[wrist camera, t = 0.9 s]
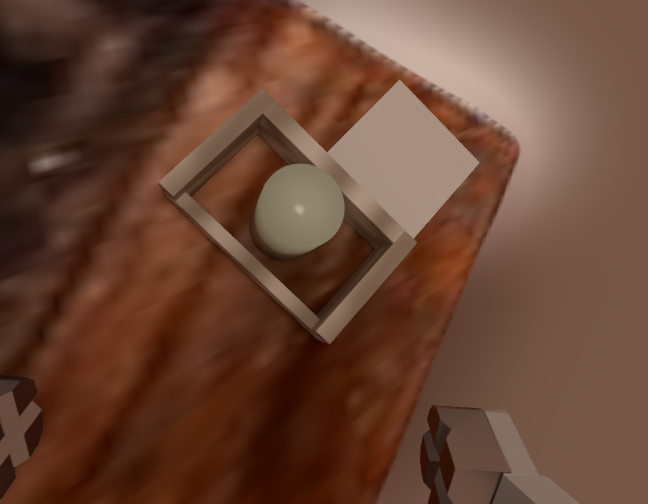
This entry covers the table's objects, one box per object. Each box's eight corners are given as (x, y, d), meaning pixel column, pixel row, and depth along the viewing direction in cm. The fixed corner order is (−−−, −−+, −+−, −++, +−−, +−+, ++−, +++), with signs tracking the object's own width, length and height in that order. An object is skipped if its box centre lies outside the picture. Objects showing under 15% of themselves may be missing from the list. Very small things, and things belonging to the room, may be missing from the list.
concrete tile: (320, 160, 46) (322, 157, 45) (395, 84, 48) (399, 79, 47) (405, 244, 47) (409, 243, 46) (474, 165, 50) (479, 162, 49)
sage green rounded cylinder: (235, 227, 43) (241, 205, 33) (282, 180, 45) (301, 146, 35) (285, 274, 44) (305, 266, 34) (329, 227, 45) (361, 206, 35)
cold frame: (164, 196, 42) (158, 182, 37) (256, 111, 45) (262, 87, 40) (316, 339, 44) (329, 344, 39) (396, 249, 46) (417, 242, 42)
